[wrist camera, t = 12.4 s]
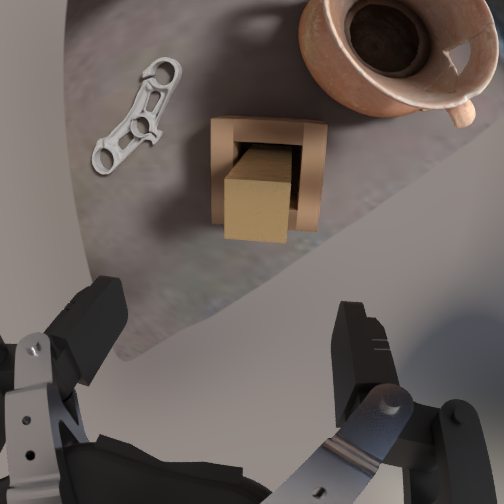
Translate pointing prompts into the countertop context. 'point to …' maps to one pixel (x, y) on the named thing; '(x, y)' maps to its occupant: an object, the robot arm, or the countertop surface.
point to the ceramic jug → (399, 54)
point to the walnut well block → (271, 131)
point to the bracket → (131, 118)
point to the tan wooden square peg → (259, 195)
